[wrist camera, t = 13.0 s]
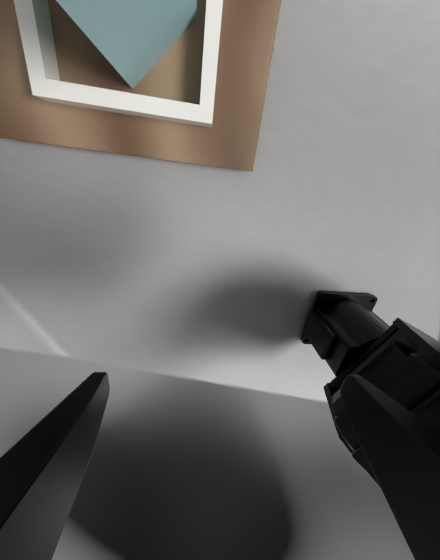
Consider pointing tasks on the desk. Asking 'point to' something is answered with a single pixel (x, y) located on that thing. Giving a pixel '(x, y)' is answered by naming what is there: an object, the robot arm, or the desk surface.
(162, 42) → the pale blue tall block
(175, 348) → the desk surface
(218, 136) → the wooden tray with frame
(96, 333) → the desk surface
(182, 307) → the desk surface
